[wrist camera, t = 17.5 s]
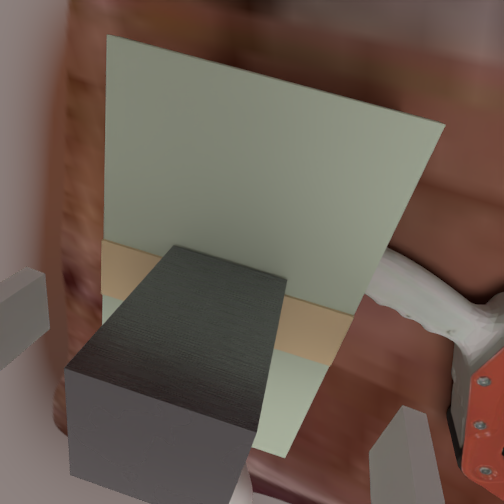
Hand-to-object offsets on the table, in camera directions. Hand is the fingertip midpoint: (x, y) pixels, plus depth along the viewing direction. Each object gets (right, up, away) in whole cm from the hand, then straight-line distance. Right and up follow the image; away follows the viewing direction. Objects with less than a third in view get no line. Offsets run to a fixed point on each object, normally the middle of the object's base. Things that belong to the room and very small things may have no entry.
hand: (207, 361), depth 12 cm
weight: (0, +1, +3) cm, 4 cm away
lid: (0, +2, +4) cm, 5 cm away
